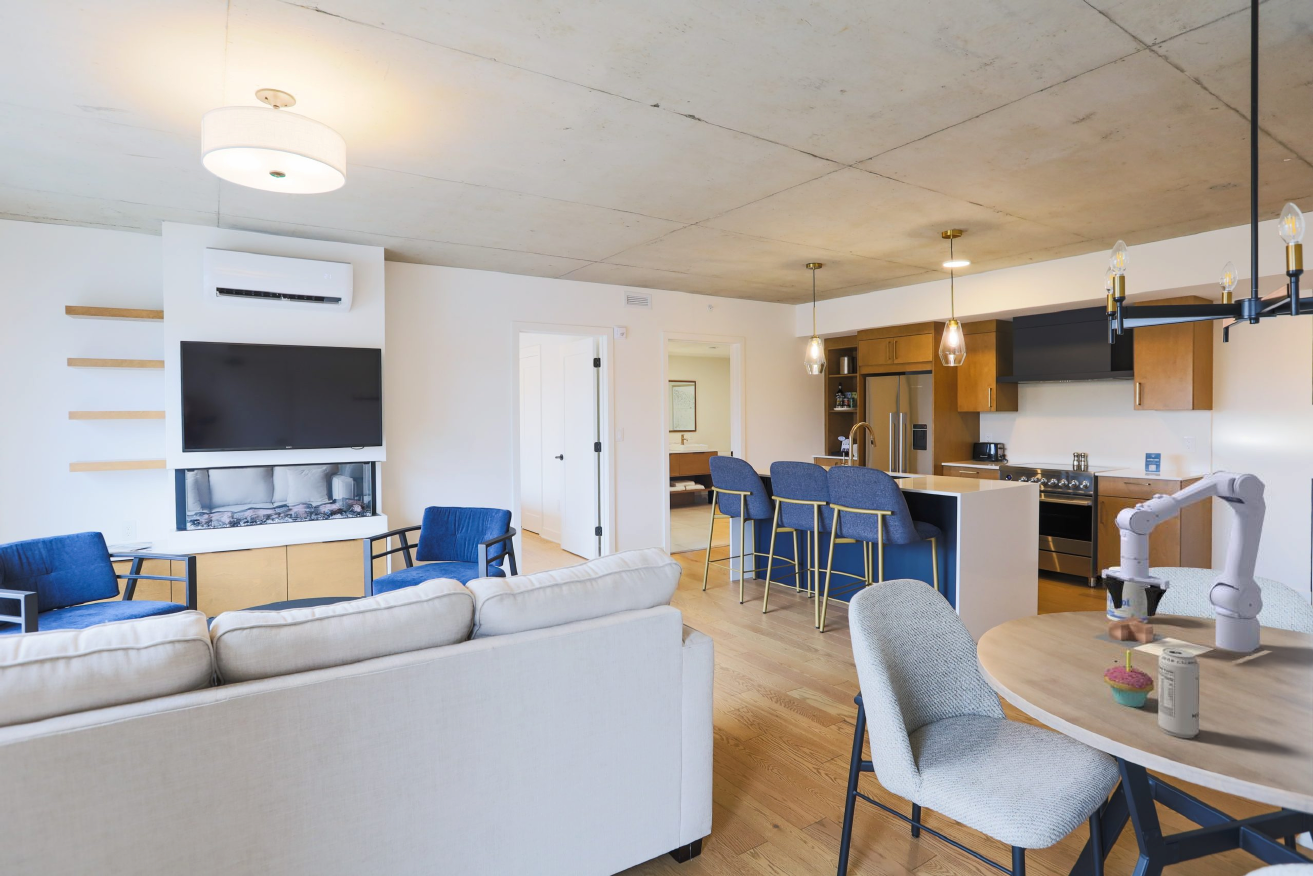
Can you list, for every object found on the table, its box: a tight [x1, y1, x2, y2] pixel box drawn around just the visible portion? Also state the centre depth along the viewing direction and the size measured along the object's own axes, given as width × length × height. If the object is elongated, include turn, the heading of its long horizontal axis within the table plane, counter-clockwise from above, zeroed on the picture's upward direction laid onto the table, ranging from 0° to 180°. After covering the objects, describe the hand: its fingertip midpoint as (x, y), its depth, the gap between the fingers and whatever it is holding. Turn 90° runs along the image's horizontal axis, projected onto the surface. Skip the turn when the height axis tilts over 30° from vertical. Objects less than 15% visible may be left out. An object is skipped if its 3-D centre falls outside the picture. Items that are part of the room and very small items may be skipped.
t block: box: [1108, 617, 1154, 643], centre depth 177 cm, size 7×10×4 cm
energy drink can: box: [1157, 648, 1200, 739], centre depth 127 cm, size 6×6×15 cm
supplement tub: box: [1106, 566, 1150, 624], centre depth 194 cm, size 10×10×15 cm
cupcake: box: [1103, 647, 1155, 708], centre depth 141 cm, size 9×8×12 cm
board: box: [1092, 631, 1215, 657], centre depth 174 cm, size 16×20×1 cm
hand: (1134, 612), depth 170 cm, fingers open, 7 cm apart
